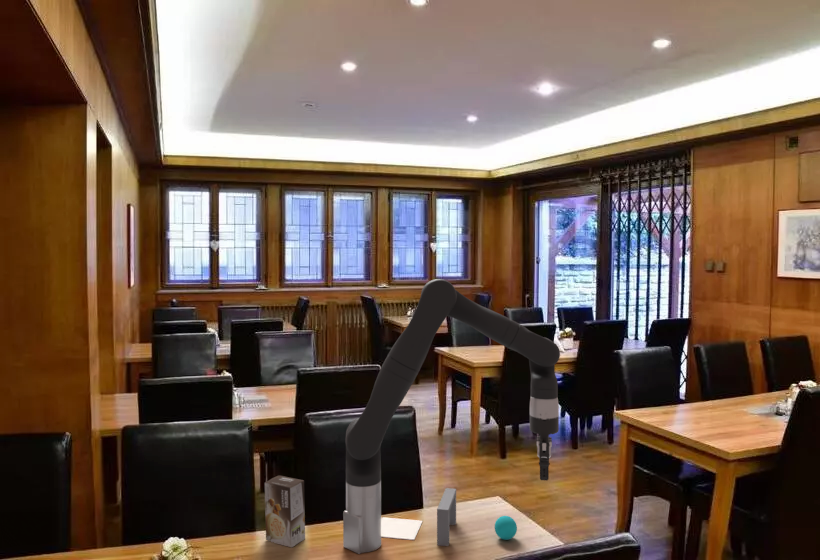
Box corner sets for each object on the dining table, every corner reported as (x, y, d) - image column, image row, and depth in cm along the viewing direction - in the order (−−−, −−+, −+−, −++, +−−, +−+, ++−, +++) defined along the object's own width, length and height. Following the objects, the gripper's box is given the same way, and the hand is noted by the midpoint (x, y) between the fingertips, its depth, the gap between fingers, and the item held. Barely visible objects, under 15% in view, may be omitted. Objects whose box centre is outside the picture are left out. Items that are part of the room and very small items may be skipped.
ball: (508, 545, 163) (509, 523, 163) (490, 539, 168) (490, 517, 167) (521, 538, 168) (521, 516, 168) (502, 531, 172) (502, 510, 172)
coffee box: (306, 538, 168) (305, 480, 168) (291, 548, 163) (290, 487, 162) (279, 531, 173) (279, 474, 172) (264, 540, 167) (263, 482, 166)
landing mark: (422, 521, 179) (422, 520, 179) (414, 540, 167) (414, 539, 167) (382, 517, 181) (382, 517, 181) (371, 536, 169) (371, 535, 169)
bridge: (456, 522, 178) (456, 488, 178) (448, 546, 163) (448, 509, 163) (445, 521, 179) (445, 488, 178) (437, 545, 164) (437, 509, 164)
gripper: (530, 406, 172) (530, 464, 173) (529, 420, 158) (529, 483, 159) (557, 407, 170) (557, 466, 171) (559, 421, 157) (559, 485, 157)
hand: (544, 474), depth 165 cm, fingers open, 8 cm apart
